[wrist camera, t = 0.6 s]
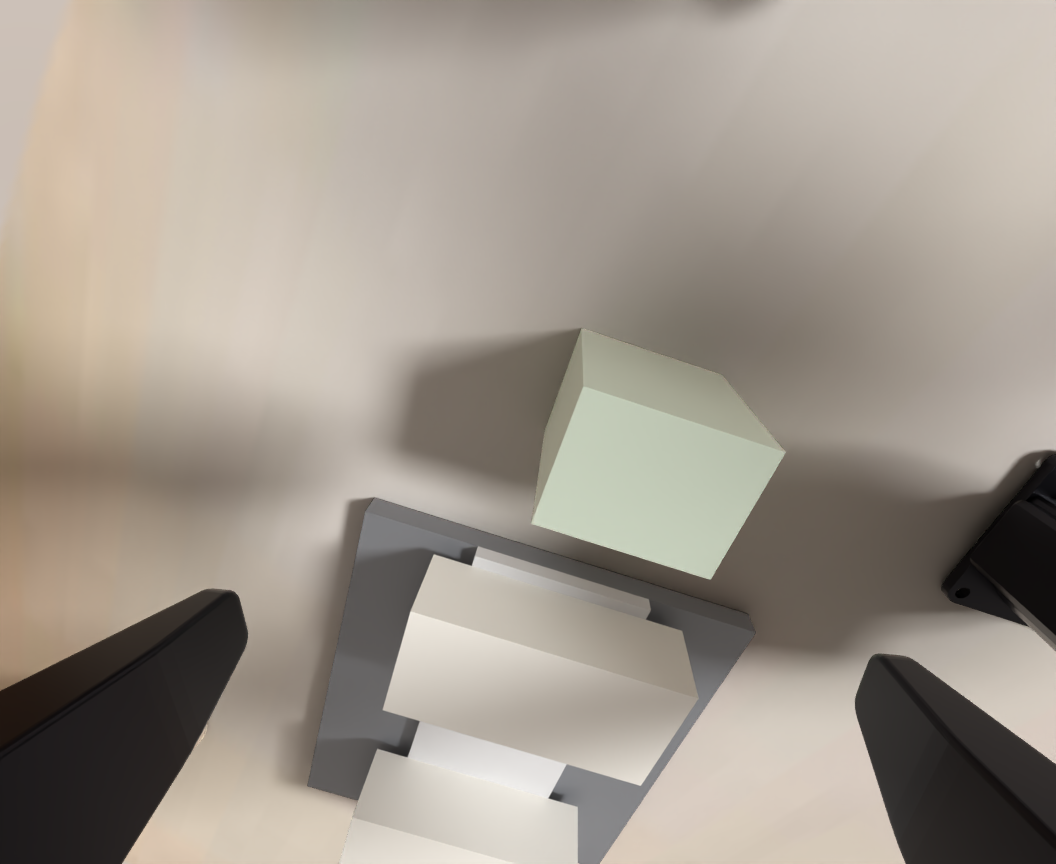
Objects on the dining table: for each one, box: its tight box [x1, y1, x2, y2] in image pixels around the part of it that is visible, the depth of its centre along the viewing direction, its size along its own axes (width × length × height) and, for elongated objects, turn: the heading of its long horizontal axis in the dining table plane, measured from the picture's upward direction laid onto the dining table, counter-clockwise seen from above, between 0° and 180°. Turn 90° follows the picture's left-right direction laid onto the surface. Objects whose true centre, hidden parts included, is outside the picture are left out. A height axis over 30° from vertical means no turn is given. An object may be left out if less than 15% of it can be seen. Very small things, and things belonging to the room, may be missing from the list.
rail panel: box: [307, 498, 756, 864], centre depth 23 cm, size 16×18×5 cm
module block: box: [531, 328, 786, 580], centre depth 16 cm, size 5×4×6 cm
